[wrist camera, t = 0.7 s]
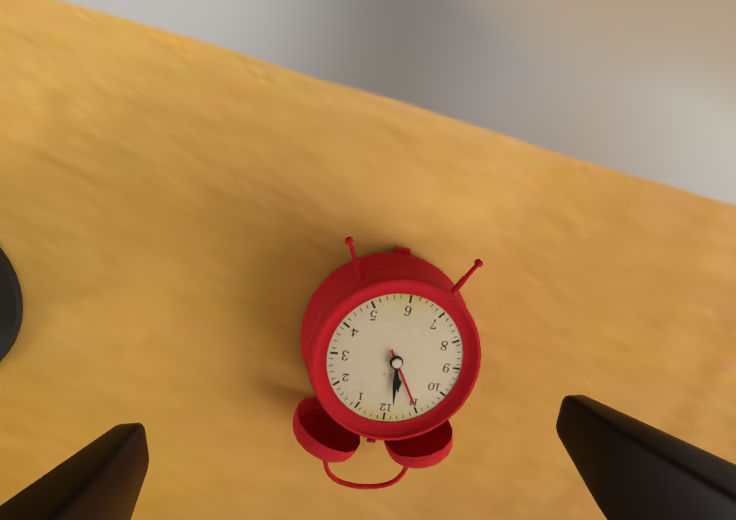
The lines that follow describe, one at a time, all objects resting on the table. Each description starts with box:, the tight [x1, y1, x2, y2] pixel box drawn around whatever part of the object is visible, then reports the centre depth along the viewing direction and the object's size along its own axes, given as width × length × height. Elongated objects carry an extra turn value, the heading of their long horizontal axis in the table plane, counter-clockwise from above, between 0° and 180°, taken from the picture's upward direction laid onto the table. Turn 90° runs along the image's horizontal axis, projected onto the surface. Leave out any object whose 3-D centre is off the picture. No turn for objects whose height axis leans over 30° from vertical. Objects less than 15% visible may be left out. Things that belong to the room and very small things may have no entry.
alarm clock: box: [293, 237, 483, 489], centre depth 20 cm, size 10×6×15 cm
